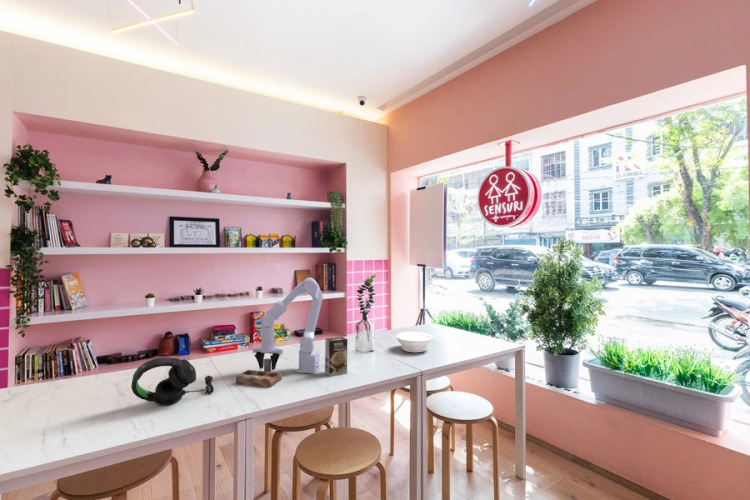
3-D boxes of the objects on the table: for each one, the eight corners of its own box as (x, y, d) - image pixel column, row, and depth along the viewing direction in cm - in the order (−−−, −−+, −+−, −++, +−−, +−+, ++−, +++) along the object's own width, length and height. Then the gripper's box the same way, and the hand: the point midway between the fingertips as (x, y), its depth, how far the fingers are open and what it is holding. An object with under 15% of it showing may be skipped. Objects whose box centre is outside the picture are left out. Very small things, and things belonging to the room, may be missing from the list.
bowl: (388, 349, 201) (388, 335, 201) (412, 343, 215) (412, 330, 215) (416, 358, 186) (416, 342, 186) (439, 350, 200) (439, 336, 200)
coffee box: (329, 376, 157) (329, 341, 157) (324, 372, 163) (324, 338, 163) (347, 373, 161) (347, 339, 161) (342, 369, 167) (342, 336, 167)
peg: (272, 372, 163) (272, 358, 163) (268, 374, 159) (268, 360, 159) (266, 371, 163) (266, 358, 163) (262, 374, 160) (262, 360, 160)
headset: (199, 418, 135) (118, 401, 119) (199, 392, 146) (126, 373, 130) (226, 384, 134) (148, 363, 117) (224, 360, 145) (153, 337, 128)
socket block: (281, 379, 153) (281, 372, 153) (270, 387, 144) (270, 379, 144) (247, 376, 157) (248, 369, 157) (235, 383, 148) (235, 376, 148)
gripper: (285, 338, 164) (285, 367, 164) (258, 336, 167) (258, 364, 167) (278, 342, 157) (278, 372, 157) (250, 340, 160) (249, 369, 160)
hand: (267, 368), depth 161 cm, fingers open, 6 cm apart
